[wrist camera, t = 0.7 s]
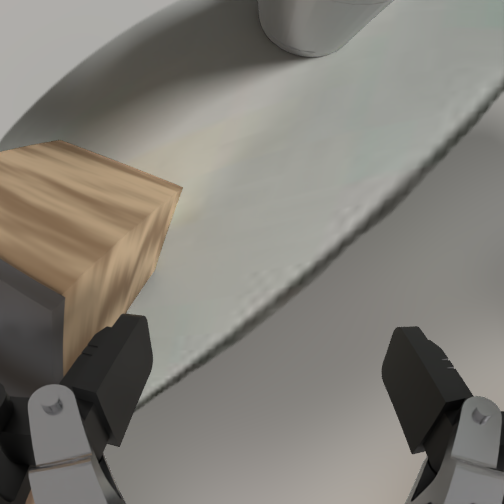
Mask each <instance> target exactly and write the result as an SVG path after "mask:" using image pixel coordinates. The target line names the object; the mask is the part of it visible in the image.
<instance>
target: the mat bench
mask: <svg viewBox="0 0 504 504" xmlns="http://www.w3.org/2000/svg"><path fill="white" fill-rule="evenodd" d="M182 189H183V187H181V186H178V185H176V184H173V183H171V182H168V181H166V180H163V179H161V178H158V177H156V176H153V175H151V174H148V173H146V172H143V171H141V170H138V169H135V168H133V167H130V166H128V165H125V164H123V163H120V162H117V161H115V160H112V159H110V158H107V157H104V156H102V155H99V154H96V153H94V152H91V151H88V150H86V149H83V148H80V147H78V146H75V145H72V144H70V143H67V142H64V141H61V140H57V141H51V142H45V143H40V144H35V145H29V146H24V147H20V148H15V149H11V150H6V151H2V152H0V383H1V384H2V385H3V386H4V388H5V390H6V392H7V393H8V395H9V396H14V397H29V398H30V397H31V395H32V394H33V393H34V392H35V391H36V390H38V389H39V388H41V387H43V386H46V385H51V384H58V385H59V383H60V382H61V380H62V379H63V377H64V376H65V375H66V373H67V372H68V370H69V369H70V368H71V366H72V365H73V363H74V362H75V361H76V359H77V358H78V356H79V355H81V354H82V353H81V352H82V351H83V350H84V348H85V347H86V346H88V345H87V344H88V343H89V342H90V340H91V339H92V338H93V336H94V335H95V334H96V333H98V332H99V331H101V330H102V329H104V328H105V327H107V326H108V327H112V326H113V325H114V323H115V322H116V321H117V319H118V318H119V317H120V315H121V314H123V313H124V314H125V313H126V312H127V310H128V309H129V307H130V306H131V304H132V303H133V301H134V300H135V298H136V297H137V295H138V294H139V292H140V291H141V289H142V288H143V286H144V285H145V283H146V282H147V280H148V279H149V278H150V276H151V275H152V273H153V272H154V270H155V268H156V265H157V262H158V258H159V255H160V252H161V249H162V246H163V243H164V240H165V237H166V234H167V231H168V228H169V225H170V222H171V219H172V217H173V214H174V211H175V208H176V205H177V203H178V200H179V197H180V194H181V192H182Z"/></svg>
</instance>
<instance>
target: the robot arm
mask: <svg viewBox="0 0 504 504" xmlns="http://www.w3.org/2000/svg"><path fill="white" fill-rule="evenodd" d="M393 1H394V0H258V7H259V20H260V23H261V27H262V28H263V30H264V32H265V34H266V35H267V36H268V38H269V39H270V40H271V41H272V42H273V43H275V44H276V45H277V46H278V47H280V48H282V49H284V50H285V51H287V52H289V53H293V54H296V55H299V56H305V57H320V56H325V55H329V54H331V53H334V52H336V51H338V50H339V49H340V48H342V47H343V46H344V45H345V44H346V43H347V42H348V41H349V40H351V39H352V38H353V37H354V36H355V35H356V34H357V33H358V32H359V31H360V30H361V29H363V28H364V27H365V26H366V25H367V24H368V23H369V22H370V21H371V20H372V19H373V18H375V17H376V16H377V15H378V14H379V13H380V12H381V11H382V10H384V9H385V8H386V7H387V6H388V5H389V4H390V3H392V2H393ZM87 345H88V346H86V347H85V348H84V350H83V351H82V352H81V353H82V354H81V355H79V356H78V358H77V359H76V361H75V362H74V363H73V365H72V366H71V368H70V369H69V370H68V372H67V373H66V375H65V376H64V377H63V379H62V380H61V382H60V383H59V385H58V384H51V385H46V386H43V387H41V388H39V389H38V390H36V391H35V392H34V393H33V394H32V395H31V397H30V398H29V397H14V396H9V395H8V393H7V392H6V390H5V388H4V386H3V385H2V384H1V383H0V504H25V503H26V500H27V498H28V495H29V493H30V490H32V494H33V499H34V503H35V504H126V503H125V500H124V498H123V496H122V494H121V492H120V490H119V488H118V486H117V483H116V481H115V479H114V477H113V474H112V472H111V470H110V467H109V465H108V463H107V460H106V458H105V455H104V453H103V451H104V449H105V447H106V444H110V445H114V446H118V447H120V445H121V442H122V439H123V437H124V435H125V432H126V430H127V427H128V425H129V422H130V420H131V417H132V415H133V413H134V410H135V408H136V405H137V403H138V401H139V398H140V396H141V394H142V391H143V389H144V386H145V384H146V382H147V379H148V377H149V375H150V372H151V369H152V364H153V354H152V348H151V342H150V335H149V329H148V322H147V319H146V317H145V316H141V315H132V314H124V313H123V314H121V315H120V317H119V318H118V319H117V321H116V322H115V323H114V325H113V326H112V327H108V326H107V327H105V328H104V329H102V330H101V331H99V332H98V333H96V334H95V335H94V336H93V338H92V339H91V340H90V342H89V343H88V344H87ZM382 379H383V382H384V385H385V387H386V389H387V392H388V394H389V397H390V399H391V402H392V404H393V406H394V409H395V411H396V414H397V416H398V419H399V421H400V424H401V426H402V429H403V432H404V434H405V437H406V440H407V442H408V445H409V448H410V450H411V453H412V454H415V453H420V452H424V451H426V454H427V457H426V459H425V460H424V461H423V464H422V466H421V469H420V471H419V473H418V476H417V478H416V481H415V483H414V485H413V487H412V490H411V492H410V494H409V496H408V498H407V500H406V502H405V504H504V412H503V411H500V409H499V408H498V406H497V405H496V404H495V403H494V402H492V401H491V400H489V399H487V398H485V397H480V396H475V397H474V396H473V395H472V393H471V392H470V390H469V388H468V387H467V386H466V384H465V382H464V381H463V379H462V378H461V377H460V375H459V373H458V372H457V370H456V369H454V366H453V365H452V363H451V362H450V361H448V357H447V356H446V355H445V353H444V352H443V350H442V349H441V348H440V347H439V346H437V345H436V344H435V343H433V342H432V341H431V340H428V339H427V338H426V336H425V335H424V333H423V332H422V331H421V329H420V328H419V327H417V326H415V327H397V328H396V329H395V330H394V332H393V335H392V338H391V341H390V344H389V347H388V350H387V354H386V356H385V359H384V361H383V365H382Z"/></svg>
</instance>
